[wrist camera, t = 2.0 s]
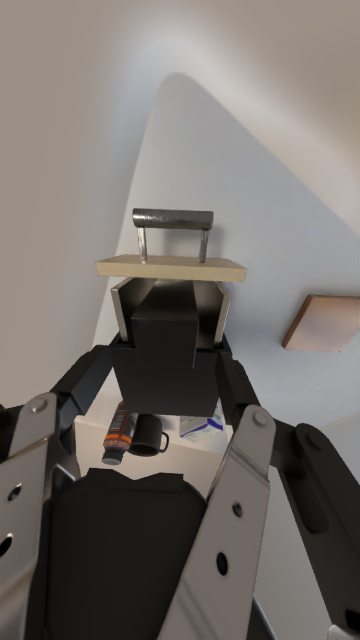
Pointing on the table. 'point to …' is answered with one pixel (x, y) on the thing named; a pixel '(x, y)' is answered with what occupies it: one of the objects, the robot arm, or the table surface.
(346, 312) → the plate
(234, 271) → the drawer
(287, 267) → the table surface
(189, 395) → the black storage cabinet
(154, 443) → the mug
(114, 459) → the supplement bottle
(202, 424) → the box
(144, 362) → the block
